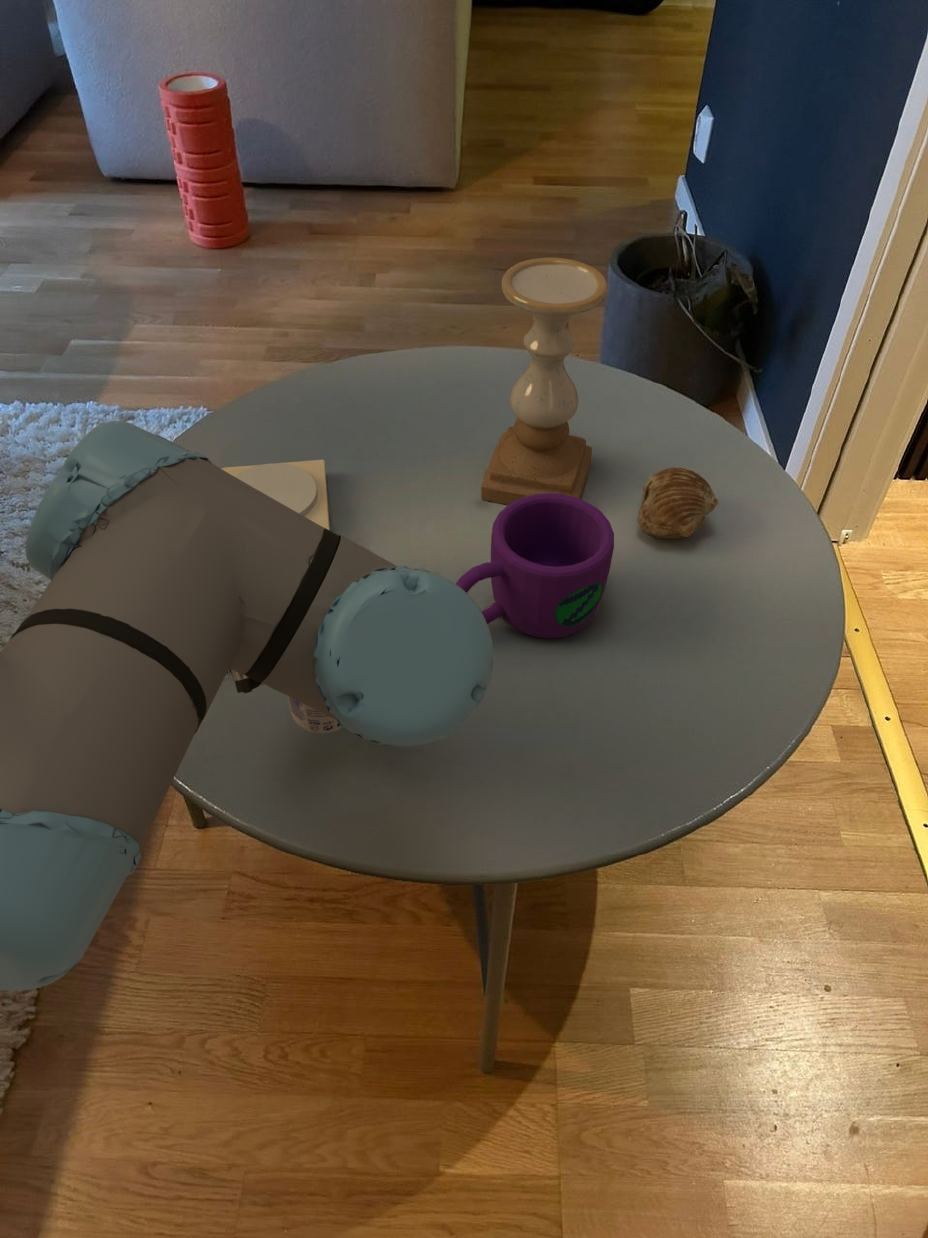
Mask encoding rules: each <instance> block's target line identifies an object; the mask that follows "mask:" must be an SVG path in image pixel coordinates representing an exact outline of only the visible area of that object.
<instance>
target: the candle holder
mask: <svg viewBox="0 0 928 1238" xmlns="http://www.w3.org/2000/svg"><path fill="white" fill-rule="evenodd" d="M501 291H502V294H503V296H504V297H505V298H506V300H507V301H508V302H510V304H512V305H513V306H515V307H517V308H518V309H521V310H523V311H526V312H528V313H530V314H531V315H532V321H533V323H532V326H531V327H530V329H529V330H528V331H527V332H526V333H525V335H524V337H523V346H524V348H525V349H526V350H527V353H528V354H529V356H530V358H531V359H530V363H529V364H528V366H527V368H526V369H525V371H524V372H523V373H522V374H521V375H520V376H519V378H517V380H516V382H515V383H514V384H513V387H512V389H511V391H510V397H509V406H510V408H511V411H512V413H513V414H514V416H515V417H516V419H515V422H514V424H513V425H512V426H509V427H508V428H507V429H506V430H505V431H503V432H502V434H501V436H500V437H499V439H498V441H497V444H496V447H495V450H494V451H493V454H492V456H491V459H490V461H489V463H488V466H487V469H486V471H485V473H484V475H483V480H482V483H481V489H480V491H481V493H480V498H481V500H484V501H488V502H490V503H497V504H502V505H506V506H507V505H509V504H510V503H512V502H514V501H516V500H518V499H520V498H523V497H526V496H530V495H533V494H543V493H555V494H564V495H568V496H572V497H576V498H579V499H581V500H582V496H583V492H584V489H585V485H586V481H587V478H588V475H589V472H590V467H591V462H592V455H593V447H592V446H590V445H587V439H585V438H583V437H580V436H576V435H571V434H570V425H569V421H570V420H571V419H572V418H573V417H574V416H575V415H576V412H577V410H578V406H579V395H578V390H577V388H576V385H575V383H574V382H573V379H571V376H570V375H569V374H568V371H567V370H566V367H565V363H564V362H565V359H566V358H567V357H568V356H569V354H570V353H571V352H572V351H573V350H574V347H575V346H576V339H575V338H574V336H573V334H572V333H571V331H570V328H569V323H570V319H571V318H572V317H573V316H576V315H579V314H584V313H587V312H589V311H591V310H593V309H595V308H596V307H598V306H599V305H600V304H601V303H602V302H603V301H604V300H605V297H606V296H607V291H608V283H607V280H606V278H605V277H604V275H603V274H602V273H601V272H600V271H599V270H597V269H596V268H594V266H591V265H589V264H587V263H584V262H581V261H578V260H574V259H569V258H562V257H538V258H531V259H526V260H523V261H520V262H518V263H516V264H514V265H512V266H510V267H509V268H508V269H507V270H506V271H505V272H504V274H503V275H502V278H501Z"/></svg>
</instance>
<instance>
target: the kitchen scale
mask: <svg viewBox="0 0 928 1238" xmlns="http://www.w3.org/2000/svg"><path fill="white" fill-rule="evenodd" d="M220 468H221V469H222V470H224V471H226V472H227V473H229V474H231V475H232V476H234V477H236V478H238V479H239V480H241V481H243V482H245V483H246V484H248V485H250V486H252V487H253V488H255V489H257V490H259V491H260V492H262V493H264V494H266V495H267V496H269V497H271V498H273V499H274V500H276V501H278V502H280V503H281V504H283V505H285V506H287V507H288V508H290V509H292V510H294V511H295V512H297V513H299V514H301V515H302V516H304V517H306V518H308V519H309V520H311V521H313V522H315V523H316V524H318V525H320V526H322V527H323V528H326V529H328V530H330V531H331V523H330V522H331V521H330V510H329V496H328V495H329V493H328V481H327V470H326V462H325V459H315V460H314V459H313V460H301V461H289V462H288V461H287V462H278V463H275V462H273V463H263V464H253V465H239V466H229V467H220Z"/></svg>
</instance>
